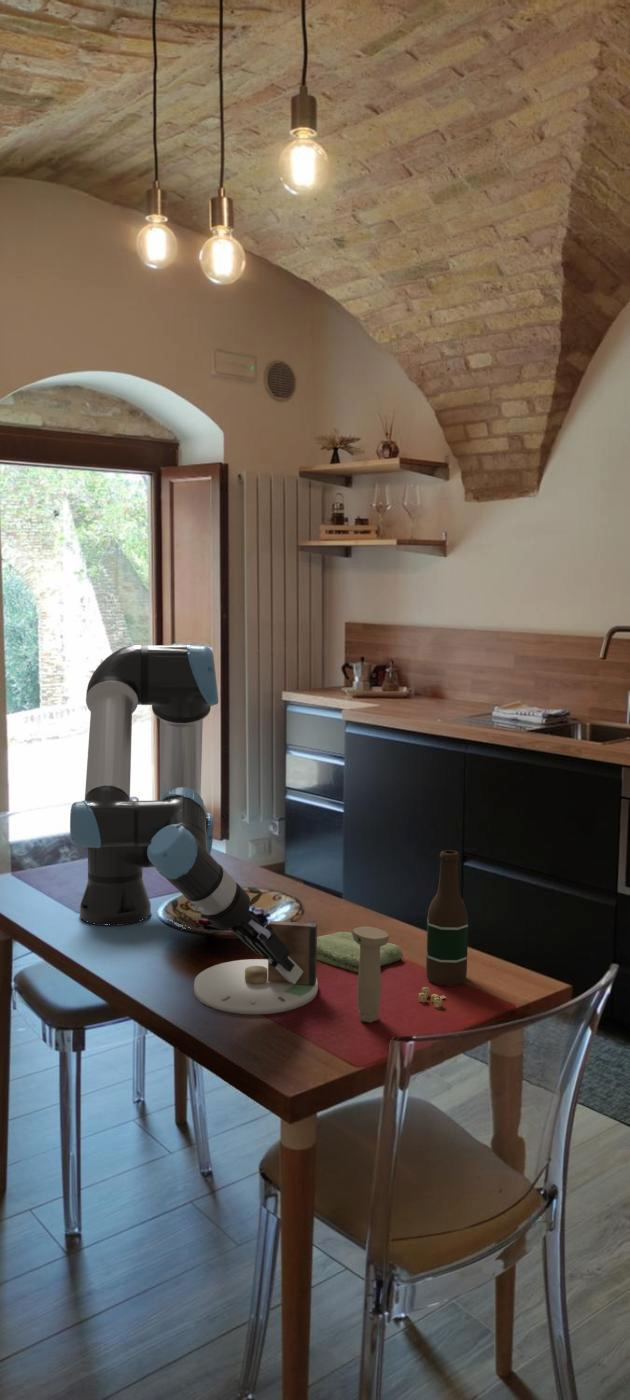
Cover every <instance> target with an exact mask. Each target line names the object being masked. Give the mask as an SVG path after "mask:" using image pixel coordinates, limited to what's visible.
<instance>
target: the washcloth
mask: <svg viewBox="0 0 630 1400" xmlns="http://www.w3.org/2000/svg"><path fill="white" fill-rule="evenodd" d="M403 956H404V954H403V951H402V949H401V948H400V946H399V945H397V944H394V943H389V942H388V943H387V944H385V945H383V946H381V947H380V967H383V966H385V965H390V964H392V963H396V962H398V961H399V962H400V961H401V960H402V959H403ZM318 961H319V962H323V963H325V964H328V965H332V966H335V967H338V968H340V969H344V970H348V971H351V972H355V973H358V974H359V962H360V945H359V944H358V943H357V942H356V941H355V940H354V938H353V932H347V931H338V932H334V933H330V934H325V935H320V936H317V962H318Z"/></svg>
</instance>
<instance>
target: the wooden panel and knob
mask: <svg viewBox="0 0 630 1400" xmlns="http://www.w3.org/2000/svg"><path fill="white" fill-rule="evenodd" d="M268 925H270V926H271V927H272V928H273V930H274V933H275V934H276V935H277V936H278V938H279V939H280V940H281V941H282V943H283V944H284V945H285V946H286V948H287V949H288V950H289V951H290V954H289V957H290V958H291V959H292V960H293V961H294V962H295V963H296V964H297V965H298V966H299V967H300V968H301V969H302V970H303V971H304V972H303V973H302V975H301V976H300V978H299V979H298V980H297V982H296V983H295V984H308V985H315V983H316V978H317V966H318V965H317V962H318V960H317V937H318V923H315V922H312V923H309V922H296V921H295V922H293V921H278V920H269V922H268ZM267 960H269V959H267ZM270 964H271V963H270V962H269V961H268V982H280V983H292V982H289V981H287V980H286V979H285V978H284V977H283V976H282V975H281V974H280V973H279V971H278V970H277V969H276V968H274V967H273V966H271V965H270ZM245 981H246V982H248V983H252V984H260V983H264V982H266V981H267V968H265V967H263V966H250V967H247V968H246V969H245Z"/></svg>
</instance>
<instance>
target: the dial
mask: <svg viewBox="0 0 630 1400" xmlns="http://www.w3.org/2000/svg"><path fill="white" fill-rule="evenodd" d="M250 966H263V967H265V968H267V981H266V982H264V983H260V984H252V983H248V982H246V981H245V969H246V968H247V967H250ZM318 982H319V981H318V978H317V977H316V983H315V985H308V984H293V983H280V982H268V959H264V958H261V959H260V958H259V959H258V958H254V959H237V960H231V961H227V962H226V961H225V962H221V963H219V964H215V965H213V966H210V967H208V968H206V969H204V970H202V971H201V972H199V973H198V974H197V976H195V978H194V982H193V992H194V995H195V997H196V1000H198V1001H199V1002H201V1003H202V1004H204V1005H205V1006H207V1007H210V1008H212V1009H215V1010H218V1011H222V1012H227V1013H232V1014H240V1015H270V1014H277V1013H283V1012H289V1011H292V1010H295V1009H299V1008H301V1007H303V1006H305V1005H307V1004H309V1003H310V1002H312V1001H313V1000H314V999H315V998H316V996H317V994H318V984H319V983H318Z"/></svg>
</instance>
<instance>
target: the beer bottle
mask: <svg viewBox="0 0 630 1400" xmlns="http://www.w3.org/2000/svg"><path fill="white" fill-rule="evenodd" d="M439 859H440V866H439V867H440V868H439V881H438V888H437V891H436V894H435V896H434V897H433V898H432V899H431V901H430V904H429V906H428V910H427V911H428V912H427V918H426V919H427V923H426V954H425V955H426V957H425V958H426V959H425V960H426V962H425V966H426V969H425V970H426V977H427V981H428V982H430V981H431V982H430V983H432V982H433V983H432V984H435V983H436V984H435V985H438V984H439V985H438V986H443V985H456V986H459V985H461V984H464V983H465V982H466V981H467V973H468V946H469V944H468V942H469V914H468V910H467V908H466V907H467V906H466V904H465V901H464V900H463V898H462V896H461V894H460V885H459V884H460V883H459V880H460V879H459V860H460V859H461V858H460V854H459V852H458V851H456V850H452V849H449V850H448V849H445V850H442V851H440V853H439ZM463 982H464V983H463ZM458 984H459V985H458Z"/></svg>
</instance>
